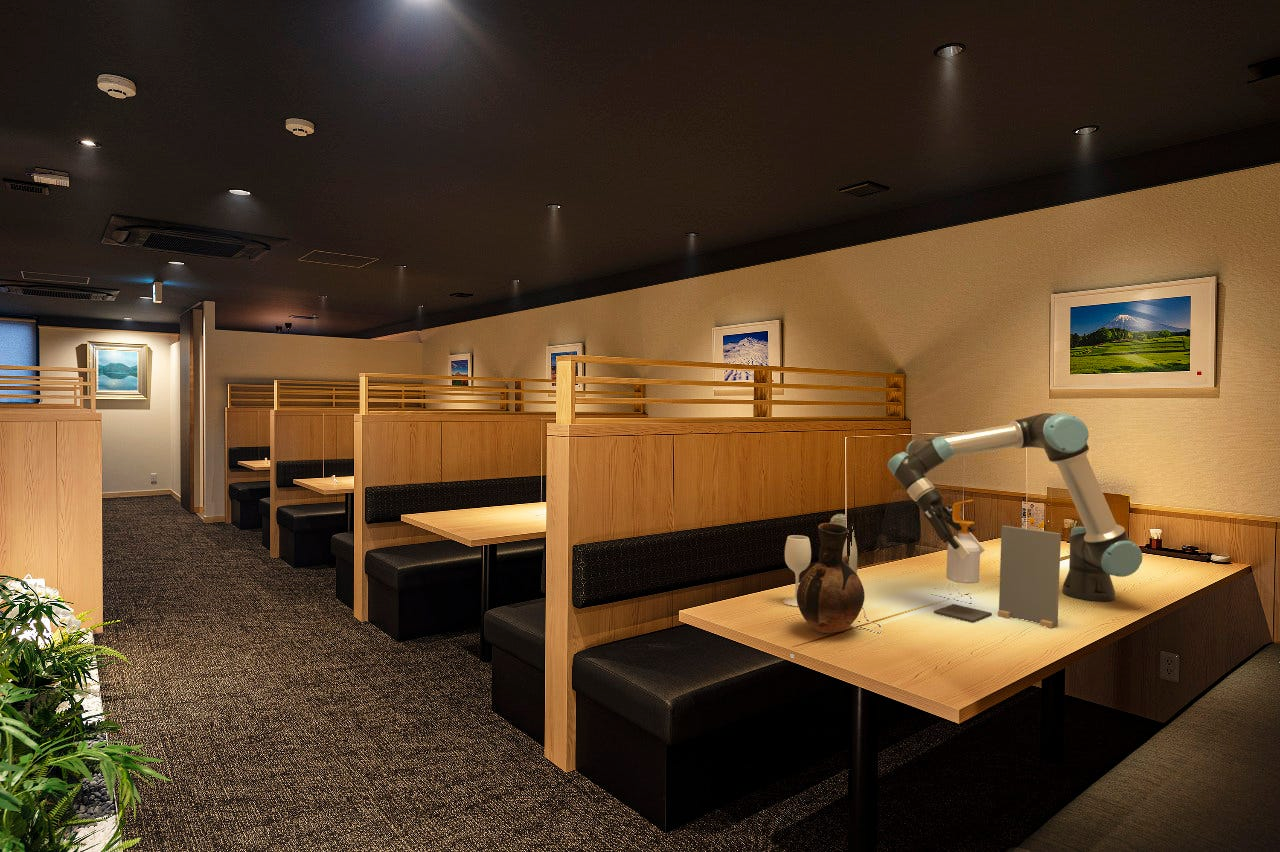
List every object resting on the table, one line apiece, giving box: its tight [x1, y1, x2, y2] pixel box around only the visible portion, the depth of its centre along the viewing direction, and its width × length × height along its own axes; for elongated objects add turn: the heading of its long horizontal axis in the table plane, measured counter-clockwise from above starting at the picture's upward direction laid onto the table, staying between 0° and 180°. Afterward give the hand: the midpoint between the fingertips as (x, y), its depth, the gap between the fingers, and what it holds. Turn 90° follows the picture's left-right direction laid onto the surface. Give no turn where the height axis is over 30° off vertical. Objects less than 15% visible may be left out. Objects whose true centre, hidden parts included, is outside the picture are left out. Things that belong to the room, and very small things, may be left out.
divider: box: [997, 525, 1062, 629], centre depth 219 cm, size 5×16×27 cm, turn 40°
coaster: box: [933, 603, 993, 624], centre depth 225 cm, size 12×12×1 cm
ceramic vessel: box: [797, 522, 865, 634], centre depth 207 cm, size 21×18×30 cm
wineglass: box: [782, 534, 812, 607], centre depth 235 cm, size 9×9×21 cm
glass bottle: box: [829, 513, 858, 575], centre depth 238 cm, size 10×10×28 cm
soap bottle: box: [945, 499, 981, 584], centre depth 224 cm, size 9×9×25 cm
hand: (974, 554), depth 222 cm, fingers closed on soap bottle, 9 cm apart
